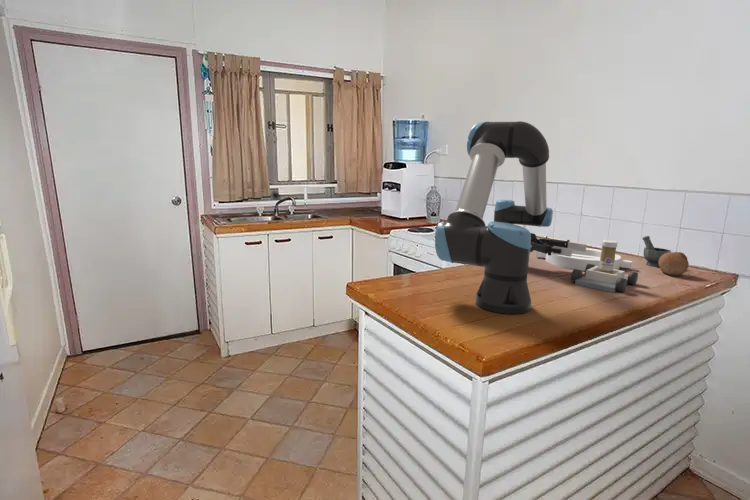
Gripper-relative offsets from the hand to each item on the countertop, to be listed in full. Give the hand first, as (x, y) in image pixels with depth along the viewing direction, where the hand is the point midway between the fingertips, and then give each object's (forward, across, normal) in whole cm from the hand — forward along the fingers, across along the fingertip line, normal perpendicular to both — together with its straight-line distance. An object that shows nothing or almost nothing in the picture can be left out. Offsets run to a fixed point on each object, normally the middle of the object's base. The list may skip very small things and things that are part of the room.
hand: (579, 250), depth 151 cm
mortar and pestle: (+14, -48, -10) cm, 51 cm away
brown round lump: (+22, -35, -10) cm, 43 cm away
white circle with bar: (-8, -26, -11) cm, 29 cm away
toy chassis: (+10, 0, -10) cm, 14 cm away
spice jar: (+10, 0, -9) cm, 13 cm away
